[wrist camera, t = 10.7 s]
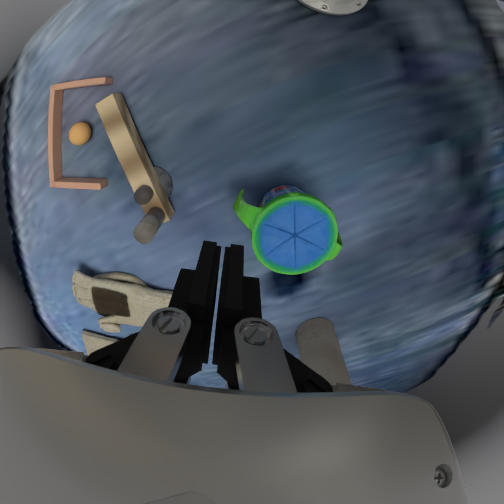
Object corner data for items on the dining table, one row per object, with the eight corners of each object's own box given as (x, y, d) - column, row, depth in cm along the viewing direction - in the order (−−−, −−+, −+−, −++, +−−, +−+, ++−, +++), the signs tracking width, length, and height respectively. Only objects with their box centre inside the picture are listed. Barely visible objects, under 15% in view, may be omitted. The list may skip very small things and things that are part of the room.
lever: (105, 103, 31) (71, 107, 23) (121, 93, 31) (90, 93, 23) (158, 219, 41) (138, 247, 33) (174, 212, 40) (158, 240, 32)
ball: (66, 124, 29) (89, 122, 31) (72, 121, 32) (93, 120, 33) (66, 148, 31) (88, 146, 32) (71, 143, 34) (92, 142, 35)
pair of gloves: (78, 254, 45) (65, 269, 40) (203, 293, 49) (200, 312, 45) (87, 349, 59) (80, 364, 54) (179, 378, 64) (176, 395, 59)
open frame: (59, 84, 29) (50, 85, 27) (113, 78, 30) (105, 77, 28) (58, 182, 37) (50, 187, 35) (107, 184, 38) (100, 189, 36)
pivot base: (136, 164, 37) (135, 165, 37) (173, 167, 38) (173, 168, 37) (135, 202, 40) (134, 202, 40) (171, 205, 41) (171, 206, 40)
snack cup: (344, 206, 41) (369, 235, 32) (305, 256, 45) (319, 294, 37) (259, 151, 37) (263, 166, 28) (222, 210, 41) (215, 242, 32)
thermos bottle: (314, 348, 57) (338, 466, 33) (287, 335, 55) (305, 464, 31) (340, 327, 54) (378, 448, 30) (315, 311, 52) (349, 447, 27)
